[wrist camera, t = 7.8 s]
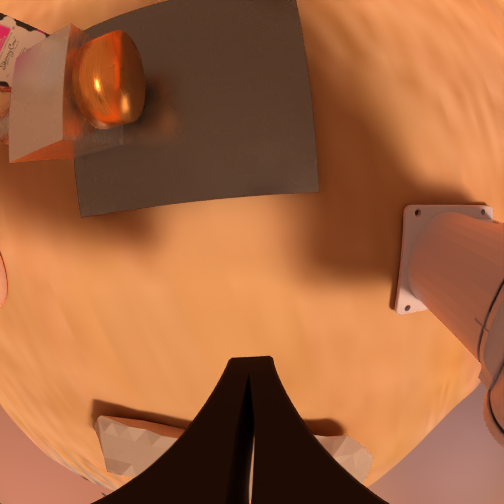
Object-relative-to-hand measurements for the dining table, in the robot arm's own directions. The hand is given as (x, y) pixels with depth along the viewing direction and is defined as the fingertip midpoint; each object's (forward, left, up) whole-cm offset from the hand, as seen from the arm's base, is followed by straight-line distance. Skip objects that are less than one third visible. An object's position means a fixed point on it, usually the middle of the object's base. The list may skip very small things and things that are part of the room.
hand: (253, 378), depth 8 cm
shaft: (+9, -12, -7) cm, 17 cm away
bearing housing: (+4, -12, -9) cm, 16 cm away
